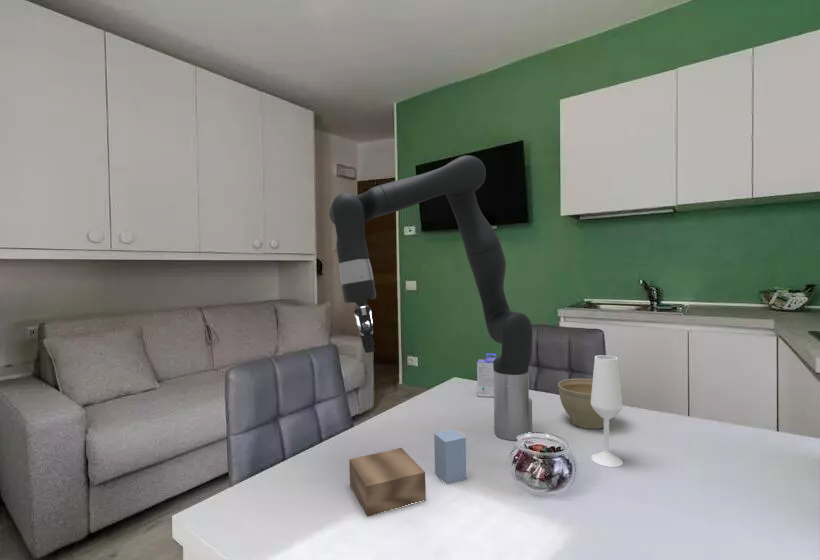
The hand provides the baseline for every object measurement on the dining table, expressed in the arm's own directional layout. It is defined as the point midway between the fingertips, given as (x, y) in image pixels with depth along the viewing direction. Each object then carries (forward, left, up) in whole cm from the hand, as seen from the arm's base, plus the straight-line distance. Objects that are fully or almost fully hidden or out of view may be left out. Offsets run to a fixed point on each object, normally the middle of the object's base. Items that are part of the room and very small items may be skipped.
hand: (368, 349), depth 96 cm
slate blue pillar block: (-14, +13, -27) cm, 33 cm away
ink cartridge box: (-55, -29, -27) cm, 68 cm away
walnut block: (+1, +13, -27) cm, 30 cm away
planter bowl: (-64, +5, -27) cm, 69 cm away
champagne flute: (-50, +23, -27) cm, 61 cm away
